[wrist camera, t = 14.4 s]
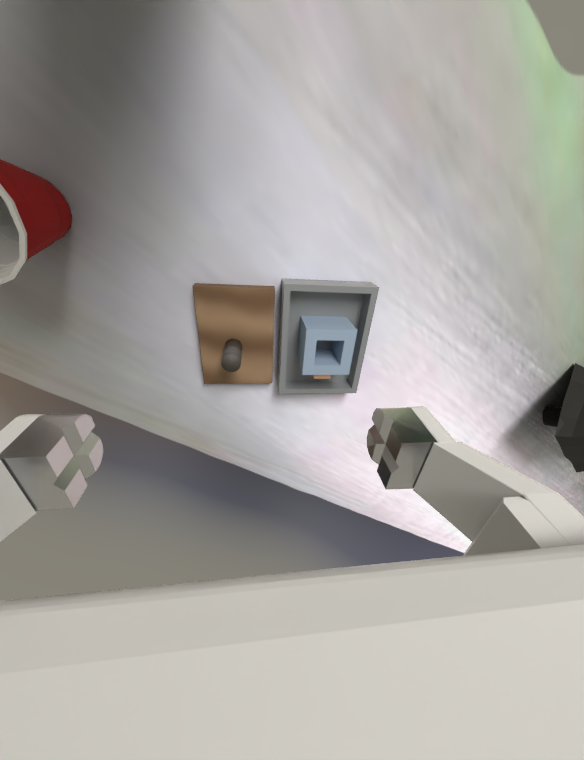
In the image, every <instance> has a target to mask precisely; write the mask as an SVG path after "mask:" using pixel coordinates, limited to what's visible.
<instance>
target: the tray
mask: <svg viewBox="0 0 584 760" xmlns="http://www.w3.org/2000/svg"><path fill="white" fill-rule="evenodd" d="M378 290H379V287H377V286H376V285H374V284H373V283H371V282H353V281H328V280H304V279H282V294H281V318H280V341H279V365H278V389H279V394H308V393H356V391H357V386H358V382H359V377H360V372H361V368H362V363H363V359H364V354H365V349H366V345H367V340H368V336H369V331H370V326H371V322H372V317H373V313H374V308H375V303H376V299H377V294H378ZM301 316H327V317H347V318H348V319H349V321H350V322H351V323H352V324H353V325H354V327H355V328H356V329H357V335H356V341H355V346H354V351H353V356H352V361H351V366H350V372H349V375H331V378H330V379H314V377H313V375H302V372H301V369H300V365H299V362H298V358H297V357H298V344H299V332H300V319H301ZM332 343H333V341H332V340H317V344H316V349H330V350H332Z"/></svg>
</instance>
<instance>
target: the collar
mask: <svg viewBox="0 0 584 760" xmlns="http://www.w3.org/2000/svg"><path fill="white" fill-rule="evenodd" d="M356 335H357V329H356V328H355V327H354V325H353V324H352V323H351V322H350V321H349V319H348V318H347V317H327V316H301V319H300V332H299V344H298V357H297V358H298V362H299V365H300V369H301V372H302V375H313V377H314V379H330V378H331V375H349V372H350V366H351V361H352V356H353V351H354V346H355V341H356ZM317 340H332V341H333V343H332V350H330V349H316V344H317Z"/></svg>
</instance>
